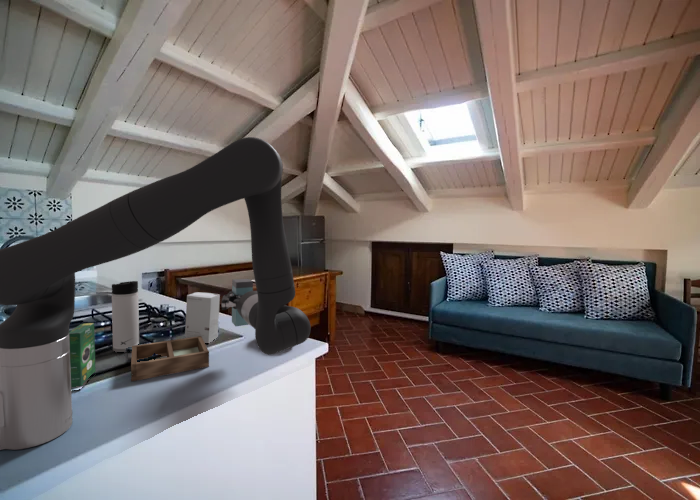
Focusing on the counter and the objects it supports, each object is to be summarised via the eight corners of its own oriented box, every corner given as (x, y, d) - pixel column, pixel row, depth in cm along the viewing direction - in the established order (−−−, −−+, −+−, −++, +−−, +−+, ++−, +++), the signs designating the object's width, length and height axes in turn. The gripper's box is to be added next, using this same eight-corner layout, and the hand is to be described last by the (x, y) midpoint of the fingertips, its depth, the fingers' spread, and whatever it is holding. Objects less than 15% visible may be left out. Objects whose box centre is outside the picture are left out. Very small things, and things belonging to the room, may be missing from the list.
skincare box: (184, 342, 101) (184, 295, 100) (195, 335, 107) (195, 291, 106) (210, 344, 100) (210, 297, 99) (219, 337, 106) (220, 292, 105)
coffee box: (82, 375, 78) (80, 322, 77) (96, 373, 79) (95, 321, 78) (65, 392, 71) (63, 334, 70) (81, 390, 72) (80, 333, 71)
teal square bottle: (235, 326, 87) (236, 282, 86) (231, 321, 91) (232, 279, 90) (252, 324, 90) (252, 281, 88) (247, 319, 93) (248, 278, 92)
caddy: (131, 381, 76) (131, 365, 76) (132, 360, 87) (132, 345, 87) (208, 366, 86) (209, 351, 85) (201, 349, 97) (201, 335, 96)
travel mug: (126, 354, 91) (125, 283, 89) (107, 351, 92) (105, 281, 90) (145, 346, 97) (144, 280, 95) (126, 343, 98) (125, 278, 96)
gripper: (286, 291, 81) (264, 279, 95) (226, 296, 73) (212, 282, 88) (285, 321, 82) (264, 304, 96) (226, 329, 74) (212, 310, 88)
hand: (239, 294), depth 92 cm, fingers closed on teal square bottle, 4 cm apart
